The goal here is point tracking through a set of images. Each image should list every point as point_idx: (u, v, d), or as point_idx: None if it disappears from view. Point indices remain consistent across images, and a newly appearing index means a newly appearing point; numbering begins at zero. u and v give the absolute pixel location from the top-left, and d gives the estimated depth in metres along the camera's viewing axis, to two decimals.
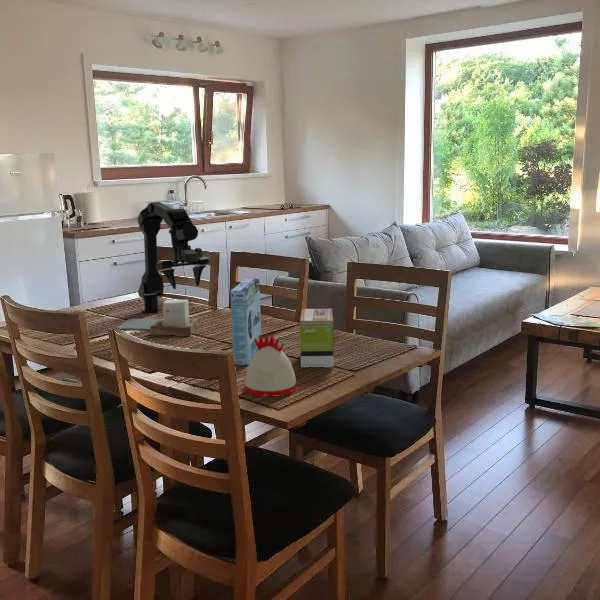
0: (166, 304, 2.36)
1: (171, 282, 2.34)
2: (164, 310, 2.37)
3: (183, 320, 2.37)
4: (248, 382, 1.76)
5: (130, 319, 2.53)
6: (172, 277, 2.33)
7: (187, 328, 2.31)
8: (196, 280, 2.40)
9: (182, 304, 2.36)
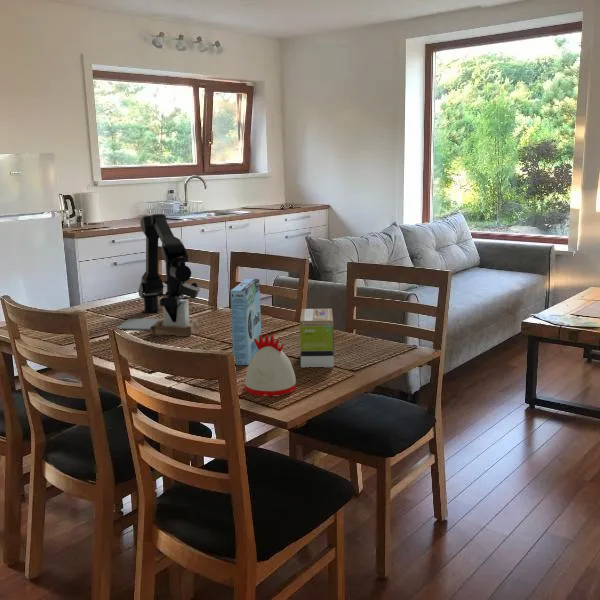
0: None
1: (173, 315, 2.36)
2: (164, 310, 2.37)
3: (183, 320, 2.37)
4: (248, 382, 1.76)
5: (130, 319, 2.53)
6: (176, 311, 2.35)
7: (187, 328, 2.31)
8: None
9: (182, 304, 2.36)
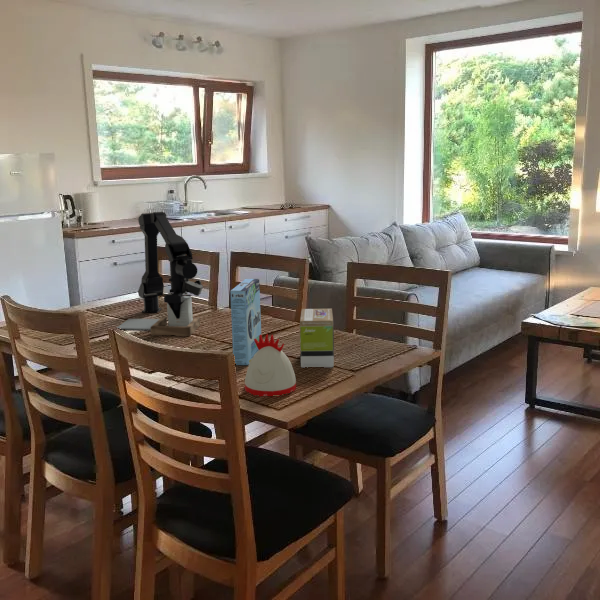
0: None
1: (176, 312, 2.41)
2: (168, 306, 2.42)
3: (187, 316, 2.42)
4: (248, 382, 1.76)
5: (130, 319, 2.53)
6: (180, 308, 2.40)
7: (187, 328, 2.31)
8: None
9: (186, 300, 2.41)
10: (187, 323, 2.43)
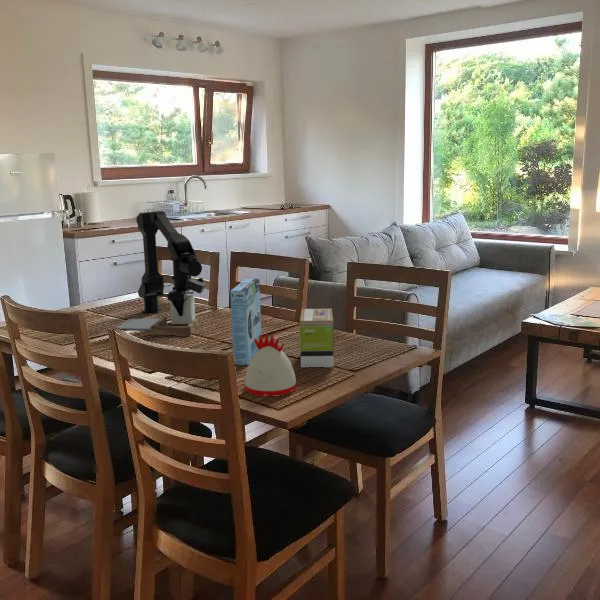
0: None
1: (179, 310, 2.45)
2: (171, 304, 2.46)
3: (190, 314, 2.46)
4: (248, 382, 1.76)
5: (130, 319, 2.53)
6: (183, 305, 2.44)
7: (187, 328, 2.31)
8: None
9: (188, 298, 2.45)
10: (190, 320, 2.46)
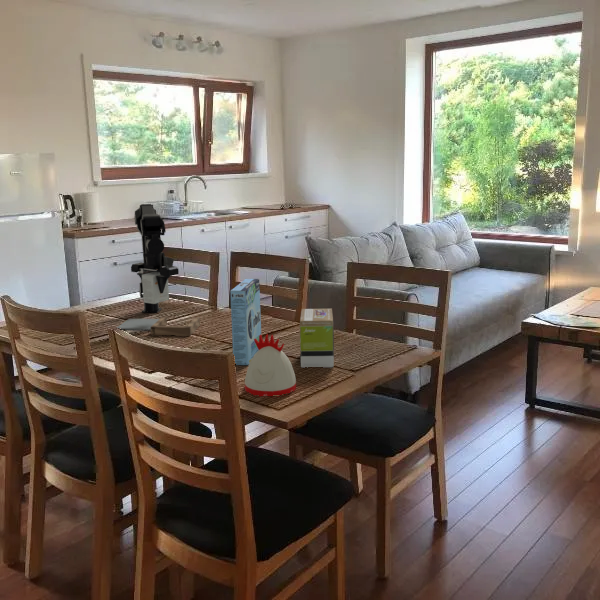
0: (155, 276, 2.40)
1: (163, 286, 2.43)
2: (154, 283, 2.40)
3: (167, 289, 2.47)
4: (248, 382, 1.76)
5: (130, 319, 2.53)
6: None
7: (187, 328, 2.31)
8: None
9: None
10: (168, 296, 2.47)
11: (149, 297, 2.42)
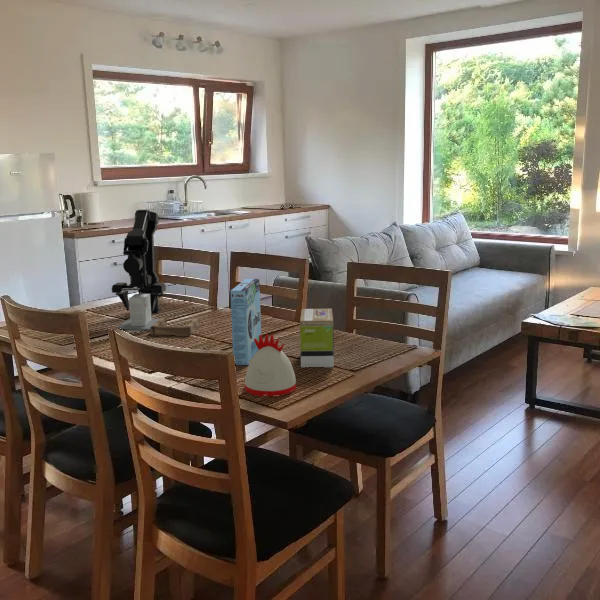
0: (144, 299, 2.42)
1: (154, 304, 2.45)
2: (144, 305, 2.42)
3: (150, 310, 2.49)
4: (248, 382, 1.76)
5: None
6: None
7: (187, 328, 2.31)
8: (128, 305, 2.46)
9: (149, 295, 2.48)
10: (150, 317, 2.50)
11: (138, 320, 2.43)
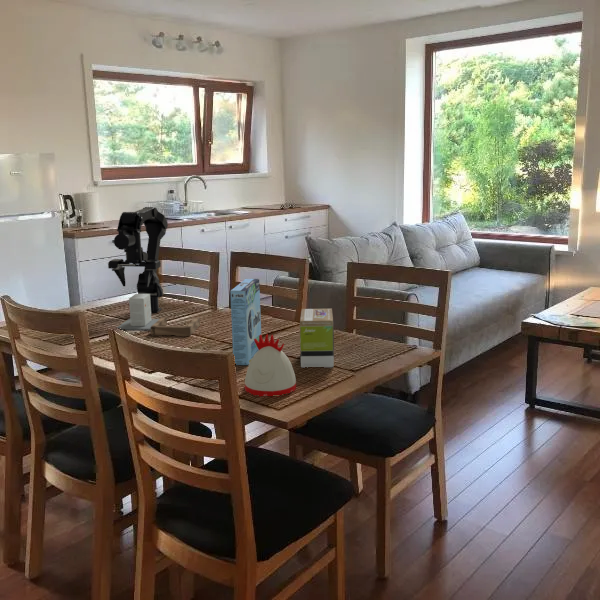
0: (144, 299, 2.42)
1: (149, 280, 2.51)
2: (144, 305, 2.42)
3: (150, 310, 2.49)
4: (248, 382, 1.76)
5: None
6: None
7: (187, 328, 2.31)
8: (124, 281, 2.52)
9: (149, 295, 2.48)
10: (150, 317, 2.50)
11: (138, 320, 2.43)
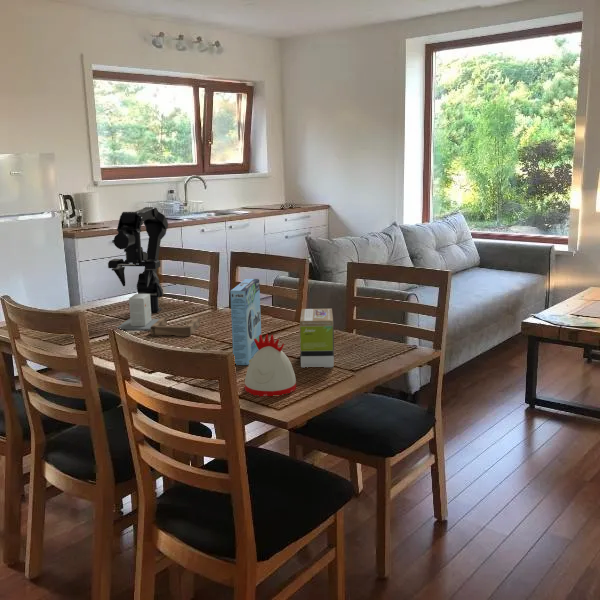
0: (144, 299, 2.42)
1: (149, 280, 2.51)
2: (144, 305, 2.42)
3: (150, 310, 2.49)
4: (248, 382, 1.76)
5: None
6: None
7: (187, 328, 2.31)
8: (123, 280, 2.52)
9: (149, 295, 2.48)
10: (150, 317, 2.50)
11: (138, 320, 2.43)
